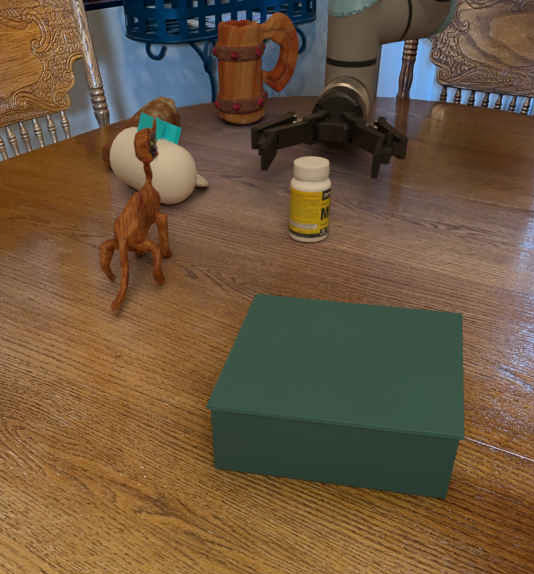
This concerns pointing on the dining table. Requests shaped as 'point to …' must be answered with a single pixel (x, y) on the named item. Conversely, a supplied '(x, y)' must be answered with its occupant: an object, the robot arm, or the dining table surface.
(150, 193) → the brown animal figurine
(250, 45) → the mug
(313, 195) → the supplement bottle
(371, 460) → the box
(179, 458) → the dining table surface
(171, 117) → the bread
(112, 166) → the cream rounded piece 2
